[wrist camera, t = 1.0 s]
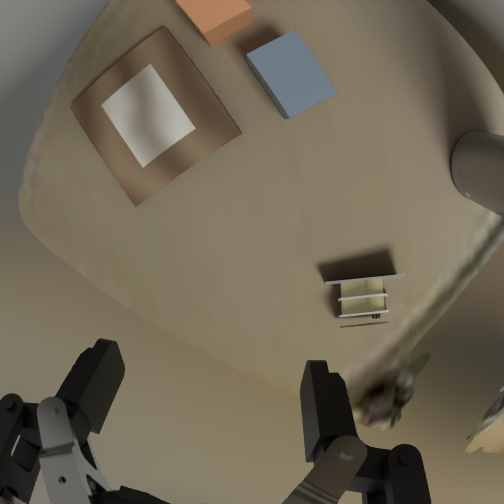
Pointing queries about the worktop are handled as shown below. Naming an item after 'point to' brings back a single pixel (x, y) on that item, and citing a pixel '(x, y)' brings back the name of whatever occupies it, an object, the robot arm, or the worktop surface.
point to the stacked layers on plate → (363, 297)
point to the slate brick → (290, 74)
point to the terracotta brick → (217, 17)
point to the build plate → (153, 116)
